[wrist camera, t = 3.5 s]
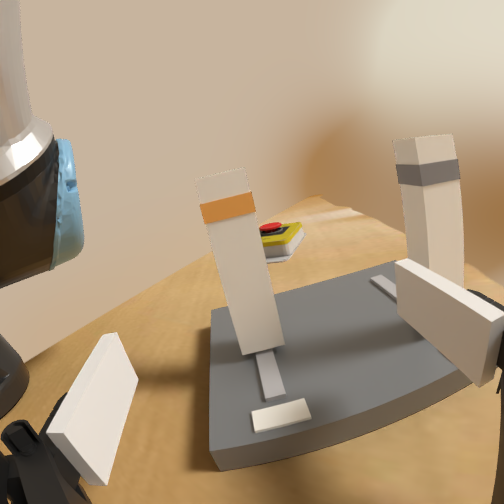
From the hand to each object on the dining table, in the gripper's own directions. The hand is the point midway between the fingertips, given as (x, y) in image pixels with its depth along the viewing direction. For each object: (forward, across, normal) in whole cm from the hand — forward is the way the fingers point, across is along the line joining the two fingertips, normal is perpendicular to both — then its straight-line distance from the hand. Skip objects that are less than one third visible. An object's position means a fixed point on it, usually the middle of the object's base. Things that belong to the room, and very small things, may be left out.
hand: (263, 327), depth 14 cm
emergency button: (+41, +5, -9) cm, 42 cm away
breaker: (+4, +12, -5) cm, 13 cm away
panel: (+8, +6, -8) cm, 12 cm away
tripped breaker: (+8, 0, -5) cm, 9 cm away
